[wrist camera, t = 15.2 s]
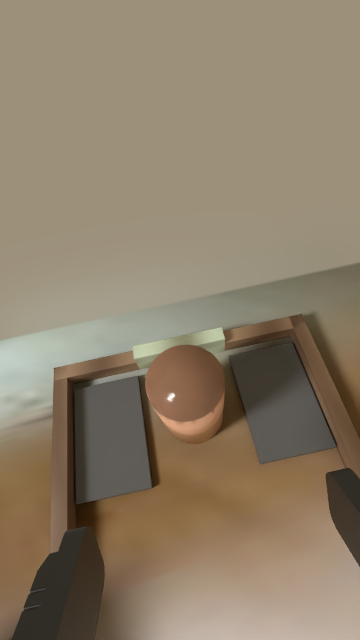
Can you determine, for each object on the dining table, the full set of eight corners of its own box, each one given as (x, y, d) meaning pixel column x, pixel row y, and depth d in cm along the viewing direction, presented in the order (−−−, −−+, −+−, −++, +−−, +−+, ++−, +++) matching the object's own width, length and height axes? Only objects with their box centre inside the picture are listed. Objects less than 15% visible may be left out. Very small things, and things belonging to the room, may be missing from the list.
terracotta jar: (169, 450, 25) (151, 430, 18) (160, 390, 28) (140, 353, 21) (230, 436, 25) (234, 411, 18) (215, 378, 28) (213, 337, 21)
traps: (78, 504, 24) (75, 504, 23) (76, 391, 28) (74, 389, 28) (334, 447, 24) (336, 446, 23) (291, 344, 29) (292, 342, 28)
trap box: (55, 1084, 13) (24, 1193, 11) (61, 374, 29) (50, 364, 27) (585, 963, 13) (653, 1048, 11) (297, 322, 30) (303, 309, 28)
